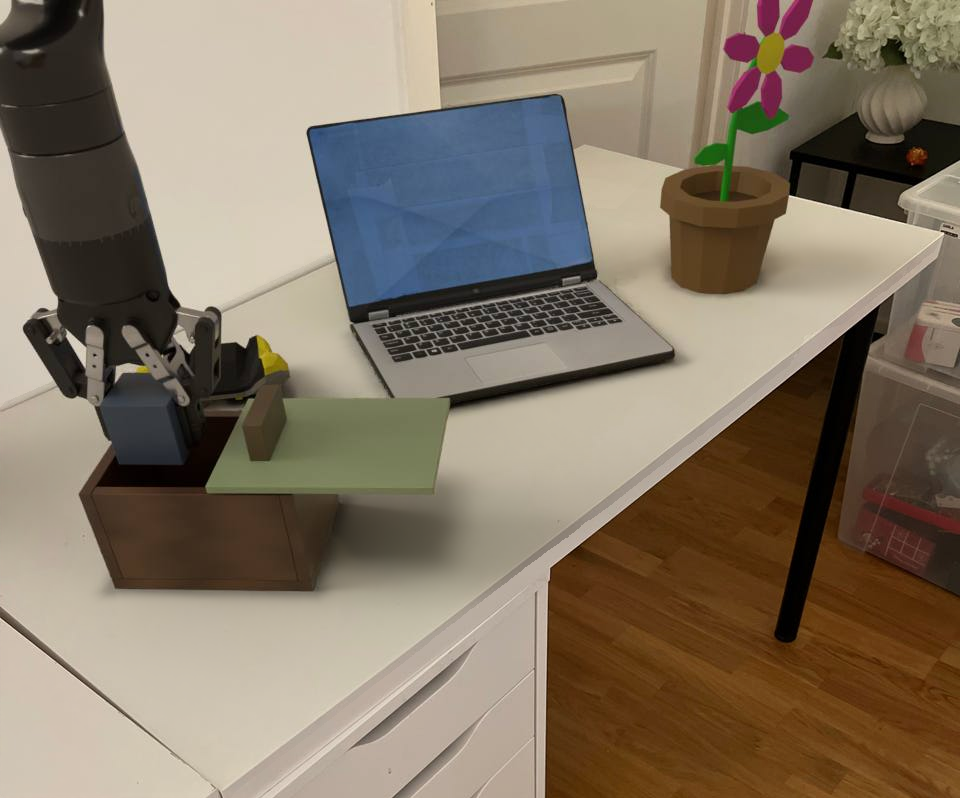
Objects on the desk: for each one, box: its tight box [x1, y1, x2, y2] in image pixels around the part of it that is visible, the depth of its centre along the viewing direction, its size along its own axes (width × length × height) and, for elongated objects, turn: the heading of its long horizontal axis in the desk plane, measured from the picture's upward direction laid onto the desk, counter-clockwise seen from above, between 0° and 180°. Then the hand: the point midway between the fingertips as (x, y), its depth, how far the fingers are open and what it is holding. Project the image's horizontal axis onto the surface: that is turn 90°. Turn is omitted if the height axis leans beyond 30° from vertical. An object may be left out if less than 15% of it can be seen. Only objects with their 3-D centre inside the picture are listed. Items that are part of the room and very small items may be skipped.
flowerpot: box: [659, 0, 815, 295], centre depth 105 cm, size 14×14×30 cm
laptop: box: [305, 93, 676, 405], centre depth 102 cm, size 30×32×18 cm
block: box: [99, 372, 192, 465], centre depth 73 cm, size 5×5×5 cm
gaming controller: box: [134, 333, 291, 407], centre depth 97 cm, size 15×6×10 cm
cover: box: [205, 385, 451, 495], centre depth 72 cm, size 16×13×4 cm
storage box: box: [78, 409, 340, 592], centre depth 77 cm, size 16×12×9 cm
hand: (159, 441), depth 74 cm, fingers closed on block, 5 cm apart
